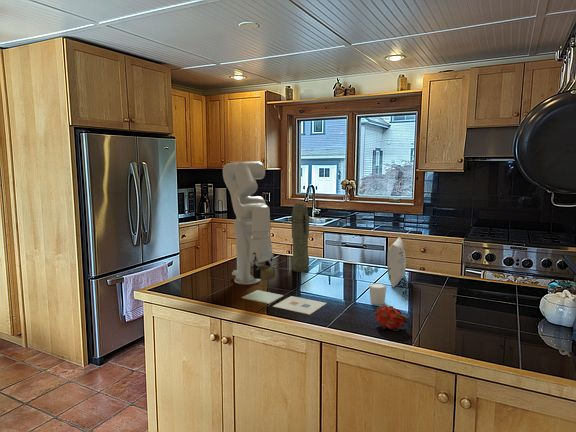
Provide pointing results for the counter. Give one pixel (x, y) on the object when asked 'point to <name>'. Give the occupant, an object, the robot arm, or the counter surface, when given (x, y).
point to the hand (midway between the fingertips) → (262, 276)
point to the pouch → (396, 261)
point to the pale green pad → (262, 296)
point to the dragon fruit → (390, 317)
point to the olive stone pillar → (300, 238)
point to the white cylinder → (377, 293)
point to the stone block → (265, 272)
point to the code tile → (300, 305)
